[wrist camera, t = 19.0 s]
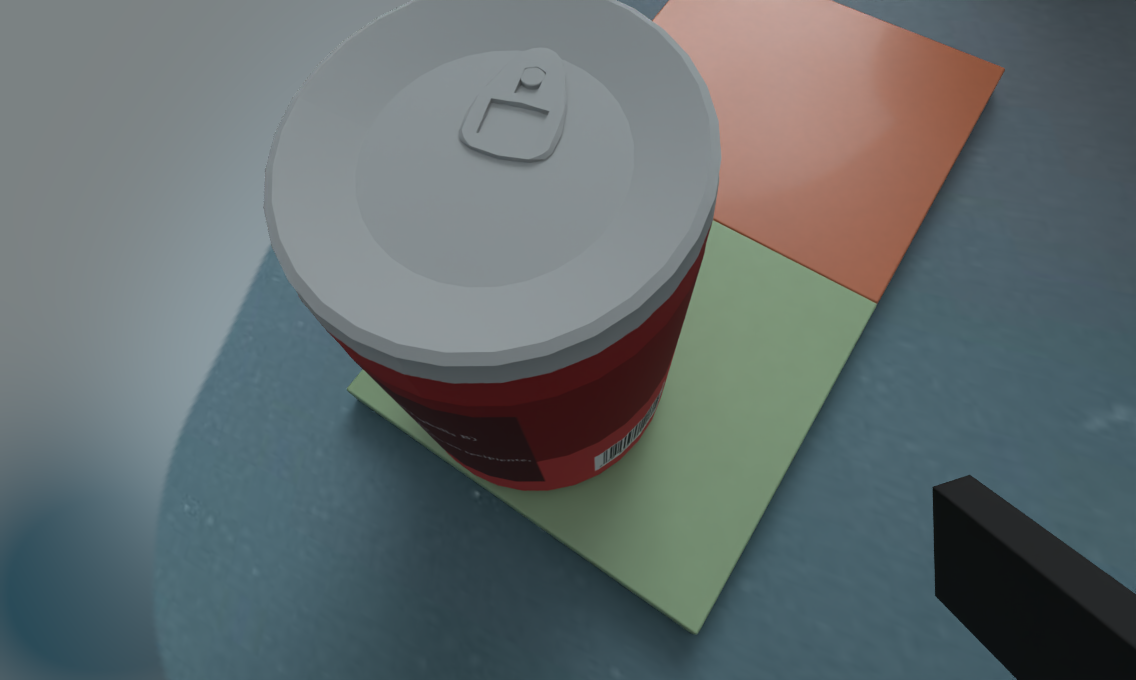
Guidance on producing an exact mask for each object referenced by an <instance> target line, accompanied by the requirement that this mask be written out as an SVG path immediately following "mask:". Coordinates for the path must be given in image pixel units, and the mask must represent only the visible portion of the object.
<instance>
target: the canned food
mask: <svg viewBox="0 0 1136 680" xmlns="http://www.w3.org/2000/svg"><path fill="white" fill-rule="evenodd" d="M720 164H721V146H720V133H719V121H718V118H717V114H716V111H715V108H714V105H713V102H712V99H711V96H710V93H709V90H708V87H707V85H706V83H705V81H704V80H703V78H702V77H701V75H700V73H699V72H698V70H697V68H696V67H695V65H694V63H693V62H692V60H691V58H690V57H689V55H688V54H687V53H686V52H685V51H684V50H683V49H682V48H681V47H680V46H679V45H678V44H677V43H676V41H675V40H674V39H673V38H672V37H671V36H670V35H669V34H668V33H667V32H666V31H665V30H664V29H663V28H661V27H660V26H658V25H657V24H656V23H654V22H653V21H651V20H650V19H648V18H647V17H646V16H644V15H643V14H641V13H640V12H638V11H637V10H636V9H634V8H632V7H630V6H627V5H625V4H623V3H621V2H619V1H617V0H412V1H410V2H408V3H406V4H404V5H402V6H400V7H398V8H396V9H394V10H392V11H390V12H388V13H386V14H384V15H382V16H380V17H378V18H376V19H374V20H373V21H371V22H370V23H369V24H367V25H366V26H364V27H363V28H361V29H360V30H358V31H357V32H356V33H354V34H353V35H351V36H350V37H348V38H347V39H346V40H344V41H343V42H342V43H341V44H340V45H339V46H338V47H337V48H336V49H334V50H333V51H332V52H331V53H330V54H329V55H328V56H327V57H326V58H325V59H324V60H323V61H322V62H321V63H320V64H319V65H318V66H317V67H316V68H315V69H314V70H313V71H312V73H311V74H310V76H309V77H308V78H307V80H306V81H305V82H304V83H303V85H302V86H301V87H300V89H299V90H298V91H297V93H296V94H295V95H294V97H293V98H292V100H291V102H290V104H289V106H288V108H287V110H286V112H285V114H284V116H283V118H282V120H281V122H280V124H279V126H278V128H277V130H276V132H275V134H274V138H273V142H272V146H271V149H270V153H269V157H268V161H267V165H266V168H265V184H264V185H265V186H264V187H265V188H264V212H265V217H266V222H267V227H268V232H269V236H270V241H271V246H272V248H273V250H274V252H275V254H276V256H277V258H278V260H279V262H280V264H281V266H282V268H283V271H284V273H285V275H286V277H287V279H288V281H289V282H290V283H291V285H292V286H293V287H294V288H295V289H296V291H297V293H298V295H299V297H300V299H301V301H302V302H303V303H304V304H305V306H306V307H307V308H308V309H309V310H310V311H311V313H312V314H313V315H314V316H315V317H316V319H317V320H318V321H319V322H320V323H321V324H322V326H323V327H324V328H325V329H326V330H327V331H328V332H329V333H330V335H331V336H332V337H333V338H334V339H335V340H336V341H337V342H338V343H339V344H340V345H341V346H342V347H343V348H344V350H345V351H346V352H347V353H348V354H349V356H350V357H351V358H352V359H353V360H354V361H355V362H356V363H357V364H358V365H359V366H360V367H361V368H362V369H363V370H364V371H365V372H366V373H367V374H368V375H369V376H370V377H371V378H372V379H373V380H374V381H375V382H376V383H377V384H378V385H379V386H380V387H381V388H382V389H383V390H384V391H385V392H386V393H387V394H388V395H389V396H391V397H392V398H393V399H394V400H395V401H396V402H397V403H398V404H399V405H400V406H401V407H402V408H403V409H404V410H405V411H406V412H407V413H408V414H409V415H410V416H411V417H412V418H413V419H414V420H415V421H416V422H417V423H418V424H419V425H420V426H421V427H422V428H423V429H424V430H425V431H426V432H427V433H428V434H429V435H430V436H431V437H432V438H433V439H434V440H435V441H436V442H437V443H438V444H439V445H440V446H441V447H442V448H443V449H444V450H445V451H446V452H447V453H448V454H449V455H450V456H451V457H452V458H453V459H454V460H455V461H456V462H458V463H459V464H460V465H462V466H463V467H464V468H466V469H467V470H469V471H470V472H471V473H473V474H474V475H476V476H478V477H480V478H482V479H484V480H487V481H489V482H491V483H493V484H496V485H498V486H503V487H508V488H512V489H517V490H522V491H549V490H554V489H558V488H563V487H568V486H573V485H576V484H578V483H580V482H583V481H585V480H587V479H590V478H592V477H594V476H597V475H599V474H600V473H602V472H603V471H605V470H606V469H608V468H609V467H610V466H612V465H613V464H615V463H616V462H618V461H619V460H620V459H621V458H622V457H623V456H624V455H625V454H626V453H627V452H628V451H629V450H630V449H631V448H632V447H633V446H634V445H635V444H636V443H637V442H638V441H639V439H640V438H641V436H642V435H643V433H644V431H645V430H646V428H647V427H648V425H649V424H650V422H651V421H652V419H653V416H654V414H655V411H656V408H657V406H658V403H659V401H660V398H661V396H662V392H663V389H664V386H665V382H666V379H667V376H668V372H669V369H670V366H671V363H672V359H673V356H674V353H675V349H676V346H677V343H678V339H679V336H680V333H681V329H682V326H683V323H684V320H685V316H686V313H687V310H688V306H689V303H690V300H691V296H692V293H693V290H694V286H695V283H696V280H697V277H698V273H699V270H700V267H701V263H702V260H703V257H704V253H705V247H706V242H707V239H708V235H709V232H710V228H711V225H712V221H713V217H714V211H715V205H716V198H717V192H718V186H719V171H720Z"/></svg>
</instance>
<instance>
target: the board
mask: <svg viewBox="0 0 1136 680" xmlns="http://www.w3.org/2000/svg"><path fill="white" fill-rule="evenodd" d="M652 21H653V22H654V23H656V24H657V25H658V26H660V27H661V28H663V29H664V30H665V31H666V32H667V33H668V34H669V35H670V36H671V37H672V38H673V39H674V40H675V41H676V43H677V44H678V45H679V46H680V47H681V48H682V49H683V50H684V51H685V52H686V53H687V54H688V55H689V57H690V58H691V60H692V62H693V63H694V65H695V67H696V68H697V70H698V72H699V73H700V75H701V77H702V78H703V80H704V81H705V83H706V85H707V87H708V90H709V93H710V96H711V99H712V102H713V105H714V108H715V111H716V114H717V118H718V121H719V133H720V146H721V164H720V171H719V186H718V192H717V198H716V205H715V211H714V217H713V221H712V225H711V228H710V232H709V235H708V239H707V242H706V247H705V253H704V257H703V260H702V263H701V267H700V270H699V273H698V277H697V280H696V283H695V286H694V290H693V293H692V296H691V300H690V303H689V306H688V310H687V313H686V316H685V320H684V323H683V326H682V329H681V333H680V336H679V339H678V343H677V346H676V349H675V353H674V356H673V359H672V363H671V366H670V369H669V372H668V376H667V379H666V382H665V386H664V389H663V392H662V396H661V398H660V401H659V403H658V406H657V408H656V411H655V414H654V416H653V419H652V421H651V422H650V424H649V425H648V427H647V428H646V430H645V431H644V433H643V435H642V436H641V438H640V439H639V441H638V442H637V443H636V444H635V445H634V446H633V447H632V448H631V449H630V450H629V451H628V452H627V453H626V454H625V455H624V456H623V457H622V458H621V459H620V460H619V461H618V462H616V463H615V464H613V465H612V466H610V467H609V468H608V469H606V470H605V471H603V472H602V473H600V474H599V475H597V476H594V477H592V478H590V479H587V480H585V481H583V482H580V483H578V484H576V485H573V486H568V487H563V488H558V489H554V490H549V491H522V490H517V489H512V488H508V487H503V486H498V485H496V484H493V483H491V482H489V481H487V480H484V479H482V478H480V477H478V476H476V475H474V474H473V473H471V472H470V471H469V470H467V469H466V468H464V467H463V466H462V465H460V464H459V463H458V462H456V461H455V460H454V459H453V458H452V457H451V456H450V455H449V454H448V453H447V452H446V451H445V450H444V449H443V448H442V447H441V446H440V445H439V444H438V443H437V442H436V441H435V440H434V439H433V438H432V437H431V436H430V435H429V434H428V433H427V432H426V431H425V430H424V429H423V428H422V427H421V426H420V425H419V424H418V423H417V422H416V421H415V420H414V419H413V418H412V417H411V416H410V415H409V414H408V413H407V412H406V411H405V410H404V409H403V408H402V407H401V406H400V405H399V404H398V403H397V402H396V401H395V400H394V399H393V398H392V397H391V396H389V395H388V394H387V393H386V392H385V391H384V390H383V389H382V388H381V387H380V386H379V385H378V384H377V383H376V382H375V381H374V380H373V379H372V378H371V377H370V376H369V375H368V374H367V373H366V372H365V371H364V370H362V371H361V372H360V373H359V374H358V376H357V377H356V378H355V379H354V380H353V382H352V383H351V384H350V385H349V387H348V388H347V391H348V392H349V393H351V394H352V395H353V396H354V397H355V398H356V399H358V400H359V401H361V402H362V403H363V404H365V405H366V406H368V407H369V408H371V409H372V410H373V411H375V412H376V413H378V414H379V415H380V416H382V417H383V418H385V419H386V420H388V421H389V422H390V423H392V424H393V425H395V426H396V427H398V428H399V429H400V430H402V431H403V432H405V433H406V434H408V435H409V436H410V437H412V438H413V439H415V440H416V441H418V442H419V443H420V444H422V445H423V446H425V447H426V448H427V449H429V450H430V451H432V452H433V453H435V454H436V455H437V456H439V457H440V458H442V459H443V460H445V461H446V462H447V463H449V464H450V465H452V466H453V467H455V468H456V469H457V470H459V471H460V472H462V473H463V474H465V475H466V476H467V477H469V478H470V479H472V480H473V481H475V482H476V483H477V484H479V485H480V486H482V487H483V488H484V489H486V490H487V491H489V492H490V493H492V494H493V495H494V496H496V497H497V498H499V499H500V500H502V501H503V502H504V503H506V504H507V505H509V506H510V507H512V508H513V509H514V510H516V511H517V512H519V513H520V514H522V515H523V516H524V517H526V518H527V519H529V520H530V521H532V522H533V523H534V524H536V525H537V526H539V527H540V528H541V529H543V530H544V531H546V532H547V533H549V534H550V535H551V536H553V537H554V538H556V539H557V540H559V541H560V542H561V543H563V544H564V545H566V546H567V547H569V548H570V549H571V550H573V551H574V552H576V553H577V554H579V555H580V556H581V557H583V558H584V559H586V560H587V561H588V562H590V563H591V564H593V565H594V566H596V567H597V568H598V569H600V570H601V571H603V572H604V573H606V574H607V575H608V576H610V577H611V578H613V579H614V580H616V581H617V582H618V583H620V584H621V585H623V586H624V587H626V588H627V589H628V590H630V591H631V592H633V593H634V594H636V595H637V596H638V597H640V598H641V599H643V600H644V601H645V602H647V603H648V604H650V605H651V606H653V607H654V608H655V609H657V610H658V611H660V612H661V613H663V614H664V615H665V616H667V617H668V618H670V619H671V620H673V621H674V622H675V623H677V624H678V625H680V626H681V627H683V628H684V629H685V630H687V631H688V632H690V633H692V634H696V635H697V634H698V633H699V631H700V629H701V627H702V626H703V624H704V622H705V620H706V618H707V616H708V615H709V613H710V611H711V609H712V607H713V605H714V604H715V602H716V600H717V598H718V596H719V594H720V592H721V591H722V589H723V587H724V585H725V583H726V581H727V580H728V578H729V576H730V574H731V572H732V570H733V569H734V567H735V565H736V563H737V561H738V559H739V558H740V556H741V554H742V552H743V550H744V548H745V547H746V545H747V543H748V541H749V539H750V537H751V536H752V534H753V532H754V530H755V528H756V526H757V525H758V523H759V521H760V519H761V517H762V515H763V514H764V512H765V510H766V508H767V506H768V504H769V503H770V501H771V499H772V497H773V495H774V493H775V491H776V490H777V488H778V486H779V484H780V482H781V480H782V479H783V477H784V475H785V473H786V471H787V469H788V468H789V466H790V464H791V462H792V460H793V458H794V457H795V455H796V453H797V451H798V449H799V447H800V446H801V444H802V442H803V440H804V438H805V436H806V435H807V433H808V431H809V429H810V427H811V425H812V424H813V422H814V420H815V418H816V416H817V414H818V413H819V411H820V409H821V407H822V405H823V403H824V402H825V400H826V398H827V396H828V394H829V392H830V391H831V389H832V387H833V385H834V383H835V381H836V379H837V378H838V376H839V374H840V372H841V370H842V368H843V367H844V365H845V363H846V361H847V359H848V357H849V356H850V354H851V352H852V350H853V348H854V346H855V345H856V343H857V341H858V339H859V337H860V335H861V334H862V332H863V330H864V328H865V326H866V324H867V323H868V321H869V319H870V317H871V315H872V313H873V312H874V310H875V308H876V305H877V304H878V302H879V300H880V299H881V297H882V295H883V293H884V291H885V289H886V288H887V286H888V284H889V282H890V280H891V278H892V277H893V275H894V273H895V271H896V269H897V267H898V266H899V264H900V262H901V260H902V258H903V256H904V255H905V253H906V251H907V249H908V247H909V245H910V244H911V242H912V240H913V238H914V236H915V234H916V233H917V231H918V229H919V227H920V225H921V223H922V222H923V220H924V218H925V216H926V214H927V212H928V210H929V209H930V207H931V205H932V203H933V201H934V199H935V198H936V196H937V194H938V192H939V190H940V188H941V187H942V185H943V183H944V181H945V179H946V177H947V176H948V174H949V172H950V170H951V168H952V166H953V165H954V163H955V161H956V159H957V157H958V155H959V154H960V152H961V150H962V148H963V146H964V144H965V143H966V141H967V139H968V137H969V135H970V133H971V132H972V130H973V128H974V126H975V124H976V122H977V121H978V119H979V117H980V115H981V113H982V111H983V110H984V108H985V106H986V104H987V102H988V100H989V98H990V97H991V95H992V93H993V91H994V89H995V87H996V86H997V84H998V82H999V80H1000V78H1001V76H1002V75H1003V73H1004V71H1005V69H1004V68H1003V67H1000V66H998V65H995V64H993V63H990V62H987V61H985V60H982V59H980V58H977V57H975V56H972V55H970V54H967V53H964V52H962V51H959V50H957V49H954V48H952V47H949V46H947V45H944V44H941V43H939V42H936V41H934V40H931V39H929V38H926V37H924V36H921V35H918V34H916V33H913V32H911V31H908V30H906V29H903V28H901V27H898V26H895V25H893V24H890V23H888V22H885V21H883V20H880V19H878V18H875V17H872V16H870V15H867V14H865V13H862V12H860V11H857V10H855V9H852V8H849V7H847V6H844V5H842V4H839V3H837V2H834V1H832V0H669V1H668V2H667V3H666V4H665V6H664V7H663V8H662V9H661V11H660V12H659V13H658V14H657V15H656V17H655V18H654V19H653V20H652Z"/></svg>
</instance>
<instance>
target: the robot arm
mask: <svg viewBox="0 0 1136 680" xmlns="http://www.w3.org/2000/svg"><path fill="white" fill-rule="evenodd" d="M933 522H934V563H935V596H936V597H937V598H938V599H939V600H940V601H941V602H942V603H943V604H944V605H945V606H946V607H947V608H948V609H949V610H950V611H951V612H952V613H953V614H954V615H955V616H956V617H957V618H958V620H959V621H960V622H961V623H962V624H963V625H964V626H965V627H966V628H967V629H968V630H969V631H970V632H971V633H972V634H973V635H974V636H975V637H976V638H977V639H978V640H979V641H980V642H981V643H982V644H983V645H984V646H985V647H986V648H987V649H988V650H989V651H990V652H991V653H992V654H993V655H994V656H995V657H996V658H997V659H998V660H999V661H1000V662H1001V663H1002V664H1003V665H1004V666H1005V668H1006V669H1007V670H1008V671H1009V672H1010V673H1011V674H1012V675H1013V676H1014V677H1015V678H1016V679H1017V680H1136V594H1135V593H1133V592H1132V591H1130V590H1129V589H1128V588H1126V587H1125V586H1123V585H1122V584H1121V583H1119V582H1118V581H1117V580H1115V579H1114V578H1112V577H1111V576H1110V575H1108V574H1107V573H1105V572H1104V571H1103V570H1101V569H1100V568H1098V567H1097V566H1096V565H1094V564H1093V563H1092V562H1090V561H1089V560H1087V559H1086V558H1085V557H1083V556H1082V555H1080V554H1079V553H1078V552H1076V551H1075V550H1074V549H1072V548H1071V547H1069V546H1068V545H1067V544H1065V543H1064V542H1062V541H1061V540H1060V539H1058V538H1057V537H1055V536H1054V535H1053V534H1051V533H1050V532H1049V531H1047V530H1046V529H1044V528H1043V527H1042V526H1040V525H1039V524H1037V523H1036V522H1035V521H1033V520H1032V519H1030V518H1029V517H1028V516H1026V515H1025V514H1024V513H1022V512H1021V511H1019V510H1018V509H1017V508H1015V507H1014V506H1012V505H1011V504H1010V503H1008V502H1007V501H1005V500H1004V499H1003V498H1001V497H1000V496H999V495H997V494H996V493H994V492H993V491H992V490H990V489H989V488H987V487H986V486H985V485H983V484H982V483H980V482H979V481H978V480H976V479H975V478H974V477H972V476H971V475H968V476H965V477H962V478H959V479H955V480H952V481H949V482H946V483H943V484H940V485H937V486H934V487H933Z"/></svg>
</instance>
